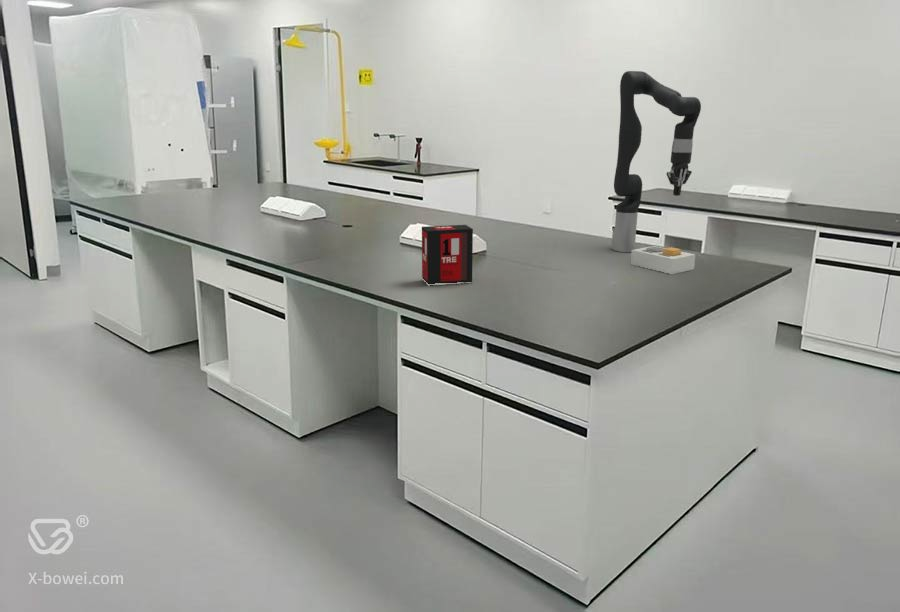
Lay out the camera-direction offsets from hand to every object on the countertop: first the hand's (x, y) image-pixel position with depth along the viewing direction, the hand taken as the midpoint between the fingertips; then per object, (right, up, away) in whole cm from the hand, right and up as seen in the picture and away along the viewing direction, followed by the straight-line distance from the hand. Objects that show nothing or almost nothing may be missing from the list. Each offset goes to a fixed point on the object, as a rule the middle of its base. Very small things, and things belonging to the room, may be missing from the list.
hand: (676, 195), depth 270 cm
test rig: (-5, -28, +3) cm, 29 cm away
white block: (-7, -25, +5) cm, 26 cm away
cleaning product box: (-91, -35, -20) cm, 100 cm away
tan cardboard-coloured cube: (-3, -26, -1) cm, 26 cm away
